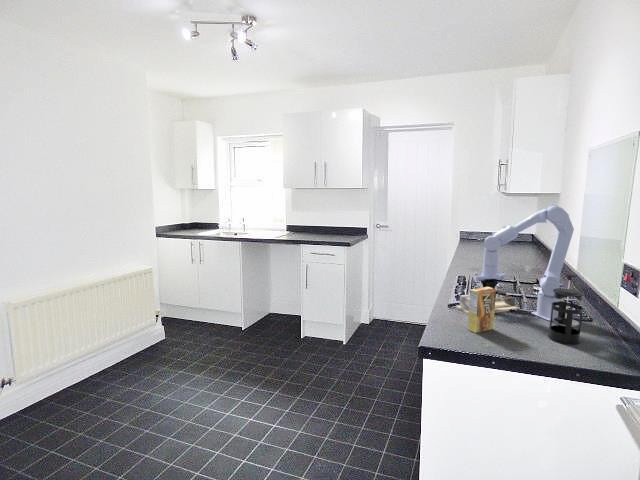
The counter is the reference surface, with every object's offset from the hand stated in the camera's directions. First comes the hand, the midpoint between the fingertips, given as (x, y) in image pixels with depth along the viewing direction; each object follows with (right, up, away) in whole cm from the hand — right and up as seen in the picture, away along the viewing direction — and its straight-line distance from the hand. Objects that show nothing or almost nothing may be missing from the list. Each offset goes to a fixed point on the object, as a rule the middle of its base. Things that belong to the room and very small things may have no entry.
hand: (488, 296), depth 168 cm
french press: (+13, -11, -30) cm, 35 cm away
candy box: (-12, -9, -22) cm, 27 cm away
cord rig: (0, -5, +1) cm, 5 cm away
